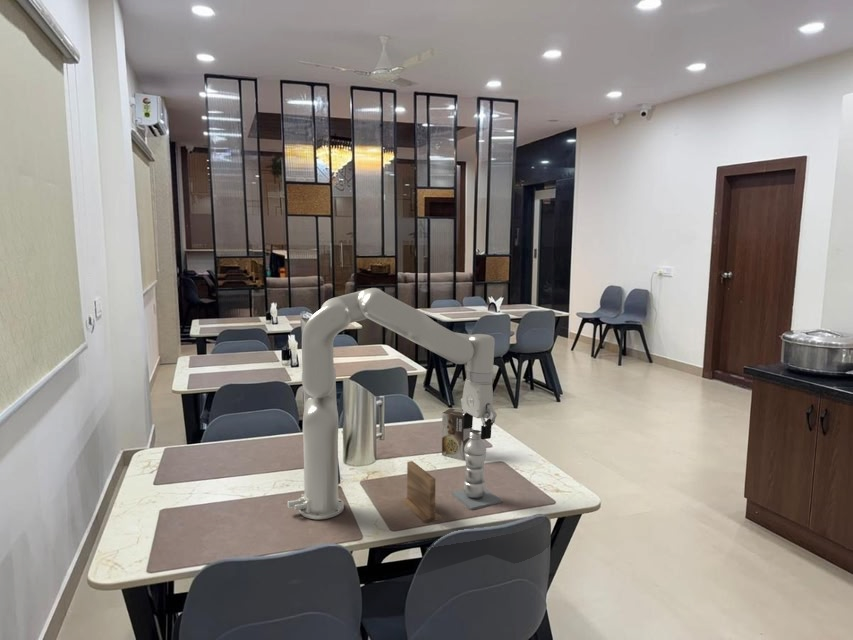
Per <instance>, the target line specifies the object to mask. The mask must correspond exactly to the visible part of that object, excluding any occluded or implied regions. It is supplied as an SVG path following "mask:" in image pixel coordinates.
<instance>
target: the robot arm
mask: <svg viewBox="0 0 853 640" xmlns="http://www.w3.org/2000/svg"><path fill="white" fill-rule="evenodd" d="M367 319H368V320H370V321H372V322H374V323H376V324H378V325H380V326H382V327H383V328H386V329H388V330H390V331H392V332H393V333H396V334H397V335H399V336H401V337H403V338H405V339H407V340H409V341H411V342H413V343H415V344H417V345H419V346H421V347H423V348H425V349H427V350H429V351H430V352H432V353H434V354H436V355H438V356H440V357H441V358H444V359H445V360H447V361H450V362H452V363H453V364H456V365H464V364H466V363H467V364H466V366H467V367H466V378H465V381H464V385H463V390H462V397H461V398H460V404H461V410H463V412H462V415H464V416H463V429H468V428H472V429H473V421H474V418H476V419H480V421H481V423H482V425H480V427H481V428H480V431H481V440H482V441H483V440H490V439H491V438H492V426H493V425H494V423H495V422H496V421H495V420H496V418H497V415H498V414H497V413H496V411H495V410H494V391H493V388H494V387H493V376H494V359H495V345H496V344H495V342H496V341H495V337H493V336H492V335H490V334H485V333H484V334H483V333H474V334H468V333H461V332H454V331H452V330H450V329H449V328H446V327H444V326H443V325H441V324H440V323H438V322H436V321H434V319H432V318H430V317H429V316H428V315H427V314H425V313H424V312H422V311H420V310H418V309H416V308H414V307H413V306H411V305H409V304H407V303H406V302H403V301H401V300H399V299H397V298H395V297H393V296H392V295H390V294H389V293H386V292H385V291H383V290H381V288H377V287H371V288H366V289H363V290H358V291H355V292H352V293H347V294H343V295H340V296H336V297H333V298H329V299H328V300H326V301H325V302H324V303H323V304H322V305H321V307H320V309H319V310H317V311H316V312H314V313H313V314H312V315H311V316H310V317H309V319H308V320H307V322H306V323H305V325H304V327H303V330H302V334H301V364H302V365H301V366H302V368H301V369H302V372H301V383H302V390H303V391H302V392H303V417H302V437H303V438H302V440H303V442H302V443H303V475H304V476H303V481H304V482H303V483H304V485H303V487H304V493H301V494H300V495H301V497H298V499H291V500H288V501H287V503H286V504H287V508H288V509H291V508H294V511H298V512H299V513H300V515H301V516H303V517H304V518H307V519H311V520H326V519H332V518H334V517H336V516H338V515H340V514H341V513H343V511H344V508H345V503H344V501H343V500H342V499H341V498H339V413H338V405H337V404H338V403H337V383H336V381H337V375H336V374H337V373H336V369H335V368H336V367H335V365H334V340H335V338H336V337H337V335H338V334H339V333H341V332H342V331H345V330H346V329H347V328H348V327H349V325H350V324H352V323H356V322H359V321H364V320H367ZM486 419H487V420H486Z"/></svg>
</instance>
